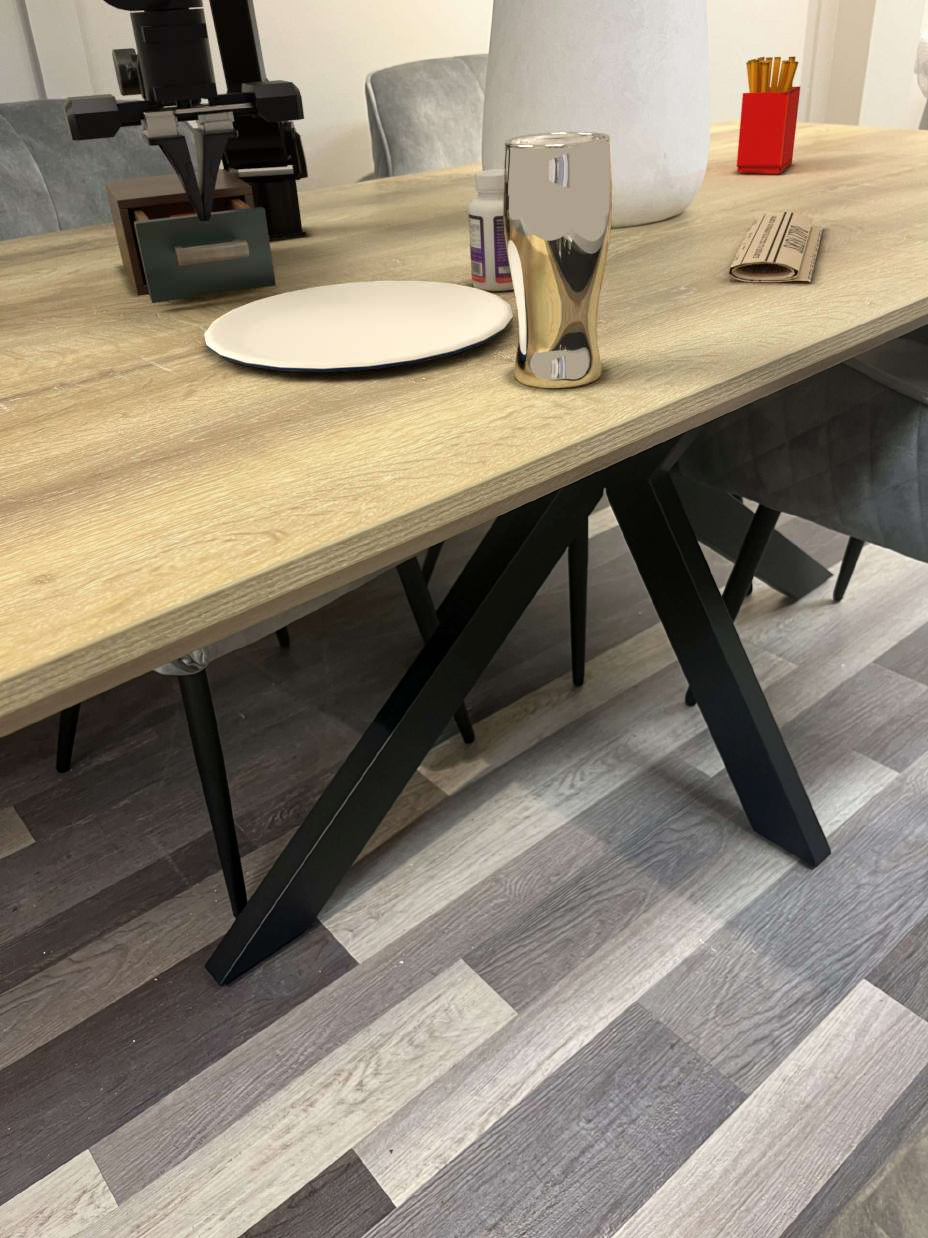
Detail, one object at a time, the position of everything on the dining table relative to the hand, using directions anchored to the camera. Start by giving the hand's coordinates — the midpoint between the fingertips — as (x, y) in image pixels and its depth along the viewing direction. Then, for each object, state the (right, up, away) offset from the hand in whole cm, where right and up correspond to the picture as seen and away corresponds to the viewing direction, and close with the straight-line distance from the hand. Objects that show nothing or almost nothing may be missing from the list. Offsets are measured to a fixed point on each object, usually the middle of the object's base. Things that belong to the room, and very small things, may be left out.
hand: (204, 220), depth 86 cm
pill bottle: (+26, -4, +6) cm, 27 cm away
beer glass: (+29, -18, -17) cm, 38 cm away
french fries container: (+66, +30, +56) cm, 91 cm away
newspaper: (+54, +1, +11) cm, 55 cm away
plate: (+14, -11, -5) cm, 19 cm away
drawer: (-2, -3, +8) cm, 9 cm away
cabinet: (-6, +2, +18) cm, 19 cm away
